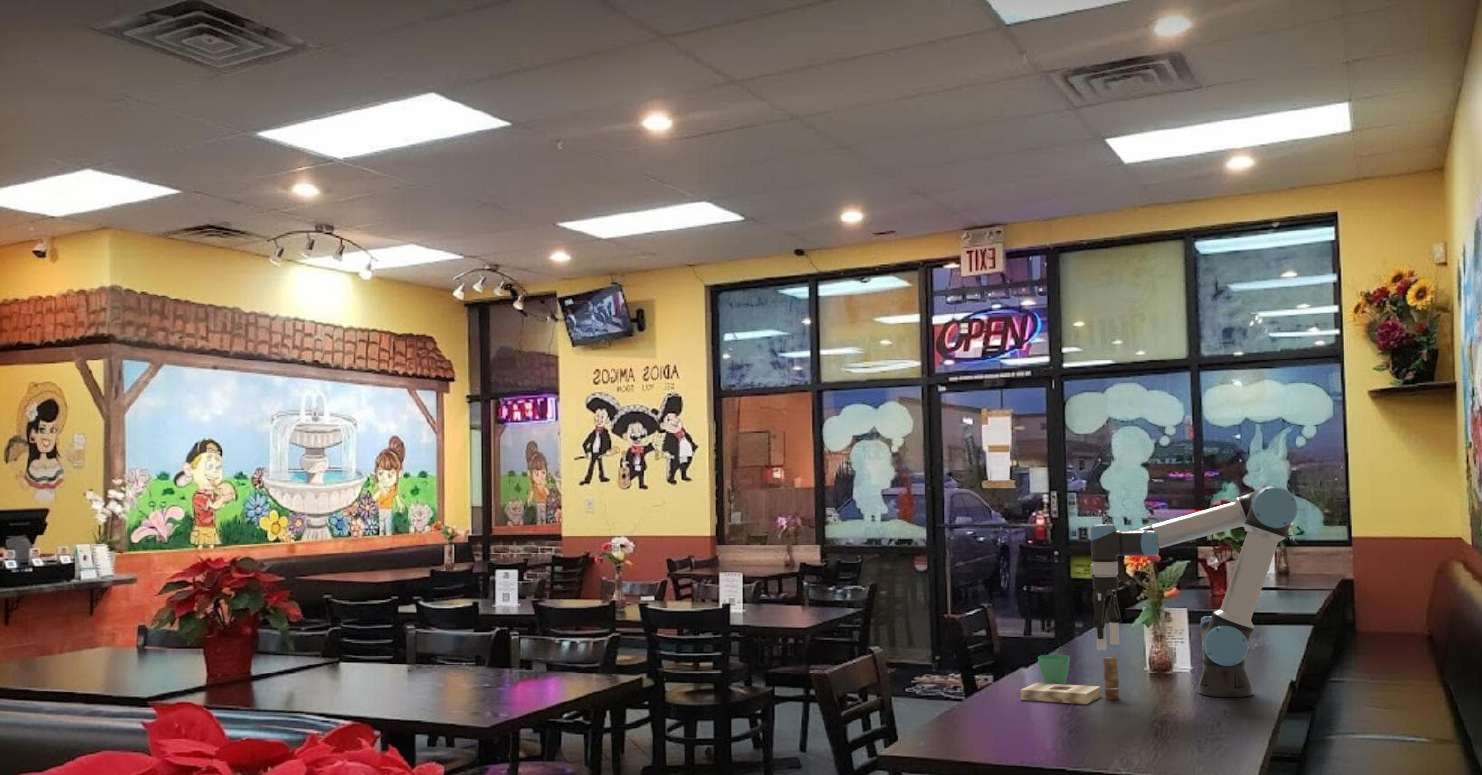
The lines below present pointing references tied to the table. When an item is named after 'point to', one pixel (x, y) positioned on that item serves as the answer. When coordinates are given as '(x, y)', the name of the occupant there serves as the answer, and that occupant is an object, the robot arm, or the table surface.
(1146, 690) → the table surface
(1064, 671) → the mug
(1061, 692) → the board
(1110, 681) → the peg
